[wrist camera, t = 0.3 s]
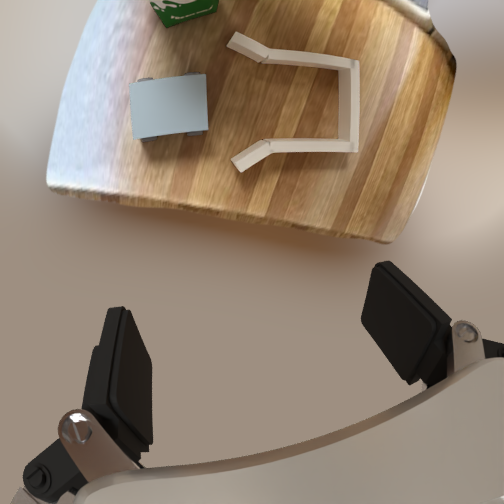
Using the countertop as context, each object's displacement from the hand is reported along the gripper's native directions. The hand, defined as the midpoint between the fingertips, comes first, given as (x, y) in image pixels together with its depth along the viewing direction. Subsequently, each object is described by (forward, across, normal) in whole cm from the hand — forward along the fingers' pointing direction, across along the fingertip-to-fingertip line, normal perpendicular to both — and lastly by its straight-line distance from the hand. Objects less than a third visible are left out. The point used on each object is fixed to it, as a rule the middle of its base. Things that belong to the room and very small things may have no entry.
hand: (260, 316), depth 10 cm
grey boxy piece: (+31, +4, -8) cm, 32 cm away
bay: (+31, -13, -8) cm, 34 cm away
